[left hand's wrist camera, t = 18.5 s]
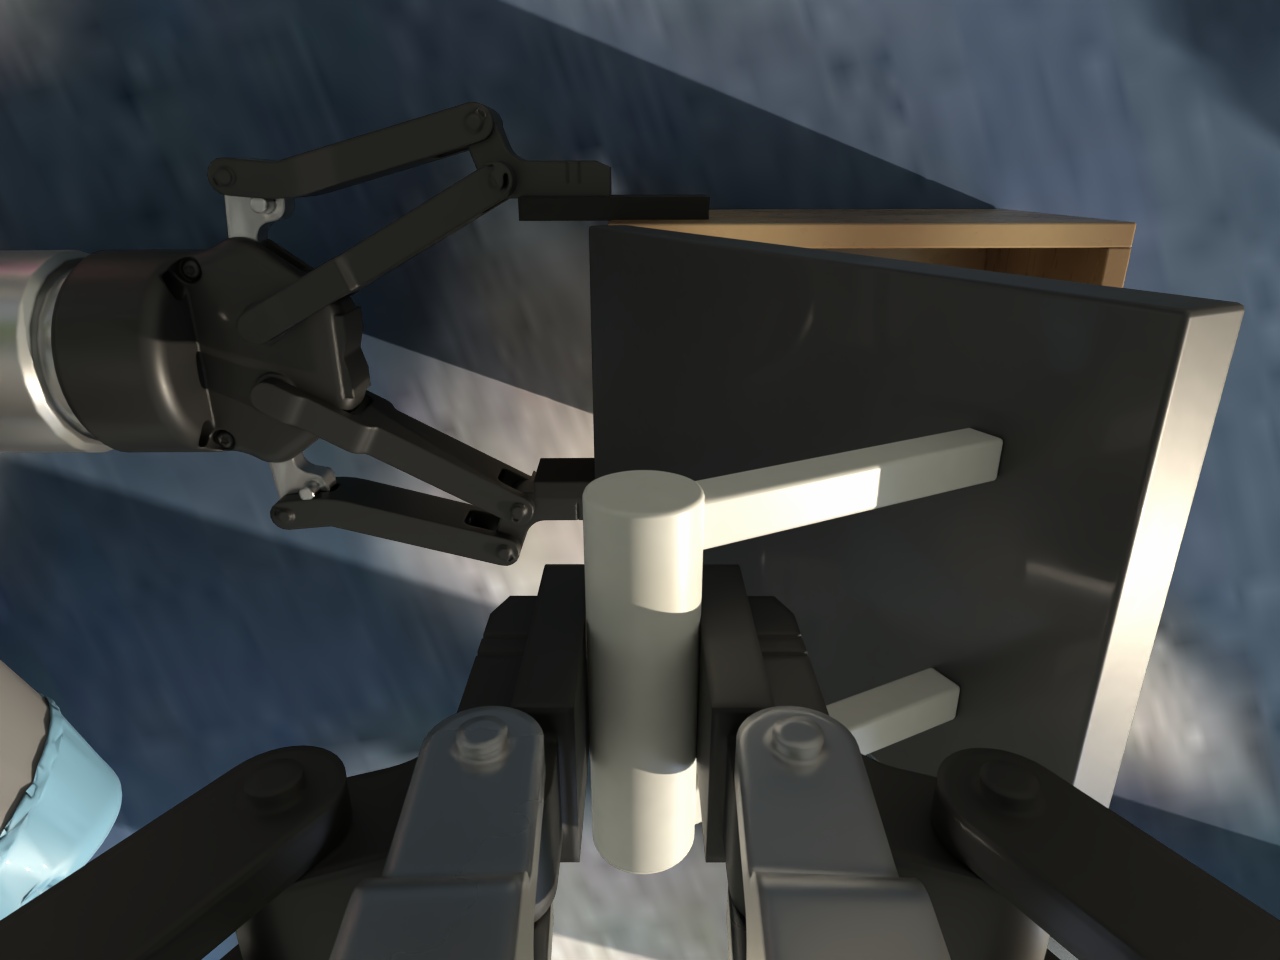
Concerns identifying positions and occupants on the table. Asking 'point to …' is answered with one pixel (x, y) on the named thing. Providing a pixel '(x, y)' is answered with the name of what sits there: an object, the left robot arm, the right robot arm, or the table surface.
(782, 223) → the chest
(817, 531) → the lid
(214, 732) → the table surface
